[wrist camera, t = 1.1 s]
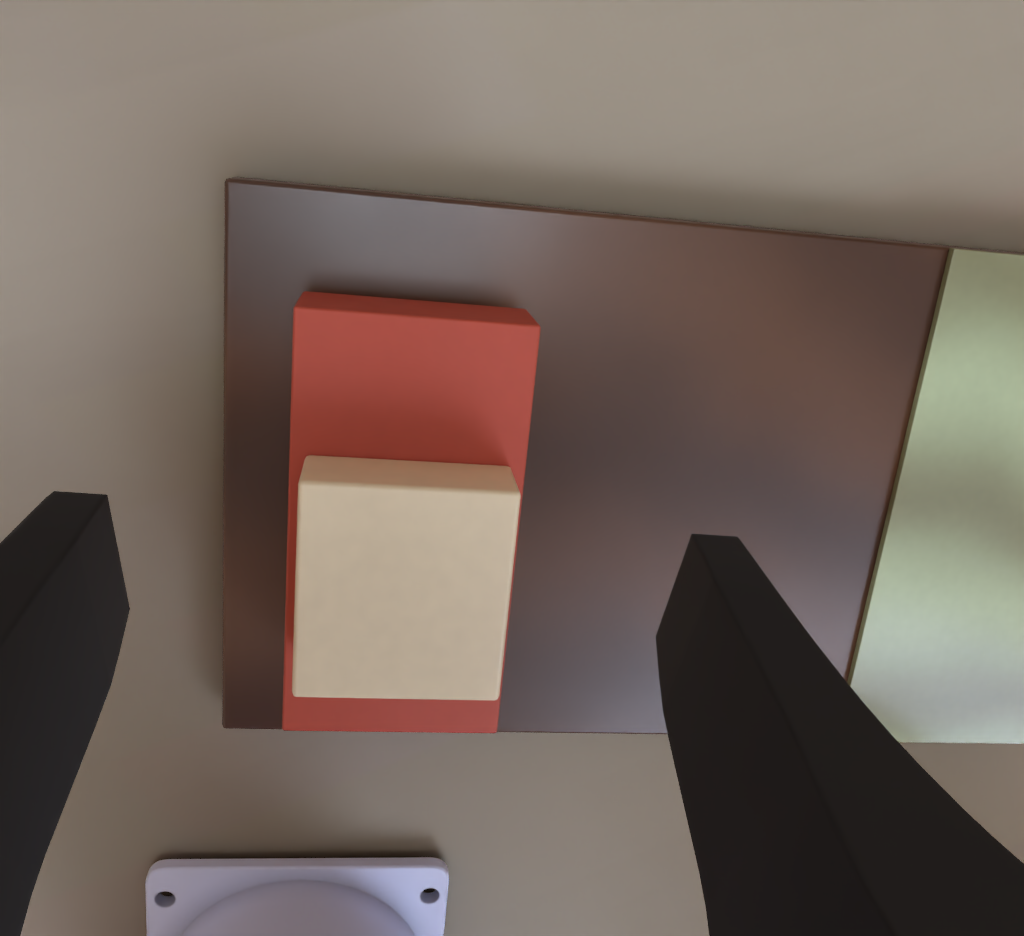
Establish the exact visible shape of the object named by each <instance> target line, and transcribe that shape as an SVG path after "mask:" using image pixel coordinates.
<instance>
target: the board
mask: <svg viewBox="0 0 1024 936" xmlns="http://www.w3.org/2000/svg"><path fill="white" fill-rule="evenodd" d="M304 291H308V292H321V293H333V294H346V295H358V296H371V297H383V298H396V299H408V300H421V301H433V302H446V303H458V304H471V305H483V306H496V307H508V308H521V309H526V310H527V311H528V312H529V313H530V315H531V316H532V317H533V318H534V319H535V320H536V322H537V323H538V324H539V325H540V327H541V329H540V339H539V348H538V357H537V366H536V376H535V385H534V394H533V403H532V413H531V422H530V431H529V440H528V450H527V459H526V468H525V477H524V487H523V496H522V505H521V514H520V524H519V533H518V542H517V551H516V561H515V570H514V579H513V588H512V598H511V607H510V616H509V625H508V635H507V644H506V653H505V662H504V672H503V681H502V690H501V699H500V709H499V718H498V727H497V732H550V733H627V734H668V732H667V728H666V723H665V718H664V714H663V708H662V699H661V690H660V681H659V671H658V660H657V648H656V634H657V631H658V628H659V626H660V623H661V620H662V617H663V614H664V611H665V608H666V606H667V603H668V600H669V597H670V594H671V591H672V588H673V586H674V583H675V580H676V577H677V574H678V571H679V568H680V566H681V563H682V560H683V557H684V554H685V551H686V548H687V546H688V543H689V540H690V537H691V534H706V535H721V536H736V537H738V538H739V539H740V540H741V542H742V543H743V544H744V546H745V547H746V548H747V550H748V551H749V552H750V554H751V555H752V556H753V558H754V559H755V561H756V562H757V563H758V565H759V566H760V567H761V569H762V570H763V572H764V573H765V574H766V576H767V577H768V579H769V580H770V581H771V583H772V584H773V585H774V587H775V588H776V590H777V591H778V592H779V594H780V595H781V597H782V598H783V599H784V601H785V602H786V603H787V605H788V606H789V607H790V609H791V610H792V612H793V613H794V614H795V616H796V617H797V618H798V620H799V621H800V622H801V624H802V625H803V626H804V628H805V629H806V630H807V632H808V633H809V634H810V636H811V637H812V638H813V640H814V641H815V642H816V644H817V645H818V646H819V647H820V649H821V650H822V651H823V652H824V654H825V655H826V656H827V658H828V659H829V660H830V661H831V663H832V664H833V665H834V666H835V668H836V669H837V670H838V672H839V673H840V674H841V675H842V677H843V678H844V679H845V680H846V682H847V683H848V684H849V685H850V687H851V688H852V689H853V690H854V691H855V693H856V694H857V695H858V696H859V697H860V699H861V700H862V701H863V702H864V704H865V705H866V706H867V707H868V708H869V709H870V710H871V712H872V713H873V714H874V715H875V716H876V717H877V718H878V720H879V721H880V722H881V723H882V724H883V725H884V727H885V728H886V729H887V730H888V731H889V732H890V733H891V735H892V736H893V737H894V738H895V739H896V740H897V741H898V742H911V743H994V744H1024V253H1018V252H1008V251H997V250H987V249H977V248H966V247H956V246H945V245H935V244H925V243H914V242H904V241H894V240H883V239H873V238H863V237H852V236H842V235H832V234H821V233H811V232H801V231H790V230H780V229H770V228H759V227H749V226H739V225H728V224H718V223H707V222H697V221H687V220H676V219H666V218H656V217H645V216H635V215H625V214H614V213H604V212H594V211H583V210H573V209H563V208H552V207H542V206H532V205H521V204H511V203H500V202H490V201H480V200H469V199H459V198H449V197H438V196H428V195H418V194H407V193H397V192H387V191H376V190H366V189H356V188H345V187H335V186H325V185H314V184H304V183H294V182H283V181H273V180H262V179H252V178H242V177H232V178H228V179H226V181H225V253H224V485H223V717H222V724H223V727H224V728H241V729H282V714H283V676H284V639H285V602H286V565H287V527H288V490H289V453H290V415H291V378H292V341H293V308H294V306H295V305H296V303H297V301H298V300H299V298H300V296H301V294H302V293H303V292H304Z"/></svg>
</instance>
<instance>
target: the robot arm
mask: <svg viewBox="0 0 1024 936" xmlns="http://www.w3.org/2000/svg"><path fill="white" fill-rule="evenodd" d="M129 610H130V608H129V603H128V598H127V593H126V588H125V583H124V578H123V573H122V567H121V562H120V557H119V552H118V547H117V542H116V537H115V532H114V527H113V522H112V517H111V512H110V506H109V501H108V496H107V495H103V494H88V493H73V492H57V491H54V492H53V493H51V494H50V495H49V496H48V497H46V498H45V499H44V500H43V501H42V502H41V503H40V504H39V505H38V506H37V507H36V508H35V509H34V510H33V511H32V512H31V513H30V514H29V515H28V516H27V517H26V518H25V519H24V520H23V521H22V522H21V523H20V524H19V525H18V526H17V527H16V528H15V529H14V530H13V531H12V532H11V533H10V534H9V535H8V536H7V537H6V538H5V539H4V540H3V541H2V542H1V543H0V936H20V934H21V931H22V927H23V923H24V920H25V916H26V913H27V909H28V905H29V902H30V898H31V895H32V892H33V889H34V886H35V883H36V880H37V877H38V874H39V871H40V868H41V866H42V863H43V860H44V857H45V854H46V852H47V849H48V846H49V844H50V841H51V839H52V836H53V834H54V831H55V829H56V826H57V823H58V821H59V818H60V816H61V813H62V811H63V808H64V805H65V803H66V800H67V798H68V795H69V793H70V790H71V788H72V785H73V782H74V780H75V777H76V775H77V772H78V770H79V767H80V765H81V762H82V759H83V757H84V754H85V752H86V749H87V747H88V744H89V741H90V739H91V736H92V734H93V731H94V728H95V726H96V723H97V721H98V718H99V715H100V713H101V710H102V708H103V705H104V702H105V700H106V697H107V694H108V692H109V689H110V686H111V683H112V679H113V675H114V671H115V667H116V663H117V660H118V656H119V652H120V648H121V644H122V639H123V635H124V631H125V627H126V622H127V618H128V614H129ZM656 648H657V660H658V671H659V681H660V690H661V699H662V708H663V714H664V718H665V723H666V728H667V732H668V737H669V741H670V746H671V750H672V755H673V759H674V764H675V768H676V773H677V777H678V781H679V786H680V790H681V794H682V799H683V803H684V807H685V812H686V816H687V820H688V825H689V829H690V833H691V838H692V842H693V847H694V851H695V855H696V860H697V864H698V868H699V873H700V878H701V884H702V889H703V894H704V900H705V905H706V911H707V919H708V927H709V935H710V936H1024V864H1023V863H1022V862H1021V861H1020V860H1019V859H1017V858H1016V857H1015V856H1014V855H1013V854H1012V853H1011V852H1010V851H1008V850H1007V849H1006V848H1005V847H1004V846H1003V845H1002V844H1001V843H999V842H998V841H997V840H996V839H995V838H994V837H993V836H991V835H990V834H989V833H988V832H987V831H986V830H985V829H984V828H983V827H982V826H981V825H980V824H979V823H978V822H977V821H975V820H974V819H973V818H972V817H971V816H970V815H969V814H968V813H967V812H966V811H965V810H964V809H963V808H962V807H961V806H960V805H959V804H958V803H957V802H956V801H955V800H954V799H953V798H952V797H951V796H950V795H949V794H948V793H947V792H946V791H945V790H944V789H943V788H942V787H941V786H940V785H939V784H938V783H937V782H936V781H935V780H934V779H933V778H932V777H931V776H930V775H929V774H928V773H927V772H926V771H925V770H924V769H923V768H922V767H921V766H920V765H919V764H918V763H917V762H916V761H915V760H914V759H913V757H912V756H911V755H910V754H909V753H908V752H907V751H906V750H905V749H904V748H903V747H902V746H901V745H900V744H899V742H898V741H897V740H896V739H895V738H894V737H893V736H892V735H891V733H890V732H889V731H888V730H887V729H886V728H885V727H884V725H883V724H882V723H881V722H880V721H879V720H878V718H877V717H876V716H875V715H874V714H873V713H872V712H871V710H870V709H869V708H868V707H867V706H866V705H865V704H864V702H863V701H862V700H861V699H860V697H859V696H858V695H857V694H856V693H855V691H854V690H853V689H852V688H851V687H850V685H849V684H848V683H847V682H846V680H845V679H844V678H843V677H842V675H841V674H840V673H839V672H838V670H837V669H836V668H835V666H834V665H833V664H832V663H831V661H830V660H829V659H828V658H827V656H826V655H825V654H824V652H823V651H822V650H821V649H820V647H819V646H818V645H817V644H816V642H815V641H814V640H813V638H812V637H811V636H810V634H809V633H808V632H807V630H806V629H805V628H804V626H803V625H802V624H801V622H800V621H799V620H798V618H797V617H796V616H795V614H794V613H793V612H792V610H791V609H790V607H789V606H788V605H787V603H786V602H785V601H784V599H783V598H782V597H781V595H780V594H779V592H778V591H777V590H776V588H775V587H774V585H773V584H772V583H771V581H770V580H769V579H768V577H767V576H766V574H765V573H764V572H763V570H762V569H761V567H760V566H759V565H758V563H757V562H756V561H755V559H754V558H753V556H752V555H751V554H750V552H749V551H748V550H747V548H746V547H745V546H744V544H743V543H742V542H741V540H740V539H739V538H738V537H736V536H721V535H706V534H691V537H690V540H689V543H688V546H687V548H686V551H685V554H684V557H683V560H682V563H681V566H680V568H679V571H678V574H677V577H676V580H675V583H674V586H673V588H672V591H671V594H670V597H669V600H668V603H667V606H666V608H665V611H664V614H663V617H662V620H661V623H660V626H659V628H658V631H657V634H656ZM448 886H449V873H448V866H447V865H446V863H445V862H444V861H442V860H441V859H439V858H433V857H402V858H256V859H165V860H160V861H158V862H156V863H154V864H153V865H152V866H151V867H150V869H149V872H148V875H147V878H146V882H145V889H146V927H147V936H444V928H445V917H446V907H447V896H448ZM428 888H432V889H436V890H435V891H434V892H431V893H425V892H423V891H424V890H425V889H428ZM163 891H167V892H171V893H172V894H173V896H164V895H162V894H161V893H159V892H163Z"/></svg>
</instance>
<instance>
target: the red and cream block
mask: <svg viewBox="0 0 1024 936" xmlns="http://www.w3.org/2000/svg"><path fill="white" fill-rule="evenodd" d="M540 329H541V327H540V325H539V324H538V323H537V322H536V320H535V319H534V318H533V317H532V316H531V315H530V313H529V312H528V311H527V310H526V309H521V308H508V307H496V306H483V305H471V304H458V303H446V302H433V301H421V300H408V299H396V298H383V297H371V296H358V295H346V294H333V293H321V292H308V291H304V292H303V293H302V294H301V296H300V298H299V300H298V301H297V303H296V305H295V306H294V308H293V341H292V378H291V415H290V453H289V490H288V527H287V565H286V602H285V639H284V676H283V714H282V729H283V730H287V731H365V732H444V733H496V732H497V727H498V718H499V709H500V699H501V690H502V681H503V672H504V662H505V653H506V644H507V635H508V625H509V616H510V607H511V598H512V588H513V579H514V570H515V561H516V551H517V542H518V533H519V524H520V514H521V505H522V496H523V487H524V477H525V468H526V459H527V450H528V440H529V431H530V422H531V413H532V403H533V394H534V385H535V376H536V366H537V357H538V348H539V339H540Z"/></svg>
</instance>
